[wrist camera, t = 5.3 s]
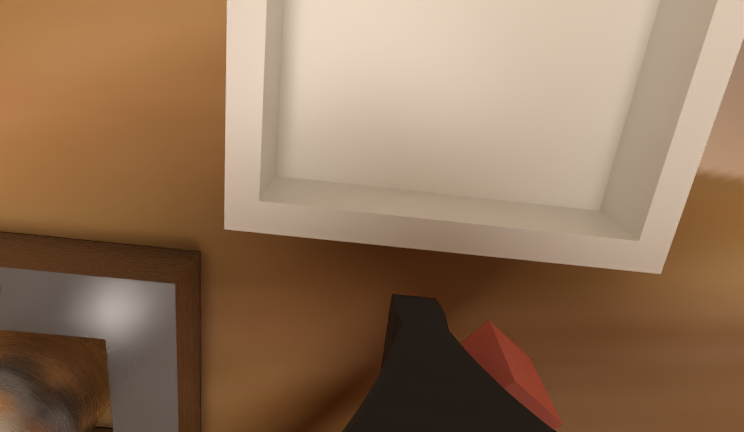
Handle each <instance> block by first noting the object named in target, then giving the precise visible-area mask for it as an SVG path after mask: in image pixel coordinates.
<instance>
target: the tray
mask: <svg viewBox="0 0 744 432" xmlns="http://www.w3.org/2000/svg"><path fill="white" fill-rule="evenodd" d="M743 38H744V0H227V49H226V124H225V199H224V229H226V230H236V231H246V232H256V233H265V234H275V235H285V236H295V237H304V238H314V239H324V240H334V241H343V242H353V243H363V244H373V245H382V246H392V247H402V248H412V249H421V250H431V251H441V252H451V253H460V254H470V255H480V256H490V257H500V258H509V259H519V260H529V261H539V262H548V263H558V264H568V265H578V266H587V267H597V268H607V269H617V270H626V271H636V272H646V273H656V274H661V272H662V269H663V266H664V263H665V260H666V258H667V255H668V252H669V249H670V246H671V243H672V240H673V238H674V235H675V232H676V229H677V226H678V223H679V221H680V218H681V215H682V212H683V209H684V206H685V203H686V201H687V198H688V195H689V192H690V189H691V186H692V184H693V181H694V178H695V175H696V172H697V169H698V166H699V164H700V161H701V158H702V155H703V152H704V149H705V147H706V144H707V141H708V138H709V135H710V132H711V129H712V127H713V124H714V121H715V118H716V115H717V112H718V110H719V107H720V104H721V101H722V98H723V95H724V92H725V89H726V86H727V84H728V81H729V78H730V75H731V72H732V70H733V67H734V64H735V61H736V58H737V55H738V52H739V50H740V47H741V44H742V41H743Z"/></svg>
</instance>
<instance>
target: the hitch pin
mask: <svg viewBox="0 0 744 432" xmlns="http://www.w3.org/2000/svg"><path fill="white" fill-rule="evenodd" d="M110 403H111V399H110V387H109V375H108V363H107V351H106V339H98V338H87V337H76V336H65V335H54V334H43V333H32V332H22V331H11V330H0V432H91V431H92V429H93V428H94V426H95V425H96V423H97V422H98V421H99V419H100V418H101V416H102V415H103V413H104V412H105V411H106V409H107V408H108V406H109V405H110Z"/></svg>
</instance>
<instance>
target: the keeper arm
mask: <svg viewBox="0 0 744 432" xmlns="http://www.w3.org/2000/svg"><path fill="white" fill-rule="evenodd" d="M460 344H461V345H462V346H463V347H464V349H465V350H466V351H467V352H468V353H469V354H470V355H471V356H472V357H473V358H474V359H475V360H476V361H477V362H478V364H479V365H480V366H481V367H482V368H483V369H484V370H485V371H487V372H488V373H489V374H490V375H491V376H492V377H493V378H494V379H495V380H496V381H497V382H498V383H499V384H500V385H501V386H502V387H503V388H504V389H505V390H506V391H507V392H509V393H510V394H511V395H512V396H513V397H514V398H515V399H516V400H518V401H519V402H520V403H521V404H523V405H524V406H525V407H526V408H527V409H529V410H530V411H531V412H532V413H533V414H535V415H536V416H537V417H538V418H539V419H541V420H542V421H543V422H544V423H546V424H547V425H548V426H550V427H551V428H552V429H554V430H555V429H557V428H558V427H559V426H561V425H562V424H563V423H562V421H561V419H560V417H559V415H558V413H557V411H556V409H555V407H554V405H553V403H552V401H551V399H550V397H549V395H548V393H547V391H546V389H545V387H544V385H543V383H542V381H541V379H540V377H539V376H538V374H537V372H536V370H535V368H534V366H533V364H532V362H531V360H530V358H529V357H528V356H527V355H526V354H525V353H524V352H523V351H522V350H521V349H519V348H518V347H517V346H516V345H515V344H514V343H513V342H512V341H511V340H510V339H509V338H508V337H507V336H506V335H504V334H503V333H502V332H501V331H500V330H499V329H498V328H497V327H496V326H495V325H494V324H493V323H492V322H491V321H488V322H486V323H485V324H484V325H483V326H481V327H480V328H479V329H478V330H477V331H475V332H474V333H473V334H472V335H470V336H469V337H468V338H467V339H465V340H464V341H463V342H462V343H460Z"/></svg>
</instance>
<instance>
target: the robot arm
mask: <svg viewBox="0 0 744 432" xmlns="http://www.w3.org/2000/svg"><path fill="white" fill-rule="evenodd" d="M342 432H556V431H555V430H554V429H552V428H551V427H550V426H548V425H547V424H546V423H544V422H543V421H542V420H541V419H539V418H538V417H537V416H536V415H535V414H533V413H532V412H531V411H530V410H529V409H527V408H526V407H525V406H524V405H523V404H521V403H520V402H519V401H518V400H516V399H515V398H514V397H513V396H512V395H511V394H510V393H509V392H507V391H506V390H505V389H504V388H503V387H502V386H501V385H500V384H499V383H498V382H497V381H496V380H495V379H494V378H493V377H492V376H491V375H490V374H489V373H488V372H487V371H485V370H484V369H483V368H482V367H481V366H480V365H479V364H478V362H477V361H476V360H475V359H474V358H473V357H472V356H471V355H470V354H469V353H468V352H467V351H466V350H465V349H464V347H463V346H462V345H461V344H460V343H459V342H458V341H457V340H456V338H455V337H454V336H453V335H452V334H451V333H450V331H449V330H448V325H447V321H446V317H445V313H444V311H443V310H442V308H441V306H440V304H439V303H438V302H437V300H436V299H435V298H426V297H416V296H405V295H395V294H392V298H391V304H390V311H389V318H388V325H387V332H386V339H385V346H384V353H383V360H382V367H381V372H380V374H379V376H378V378H377V379H376V381H375V383H374V385H373V387H372V388H371V390H370V392H369V393H368V395H367V397H366V398H365V400H364V401H363V403H362V405H361V406H360V408H359V409H358V410H357V412H356V413H355V415H354V416H353V417H352V419H351V420H350V422H349V423H348V424H347V426H346V427H345V429H344V430H343V431H342Z"/></svg>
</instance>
